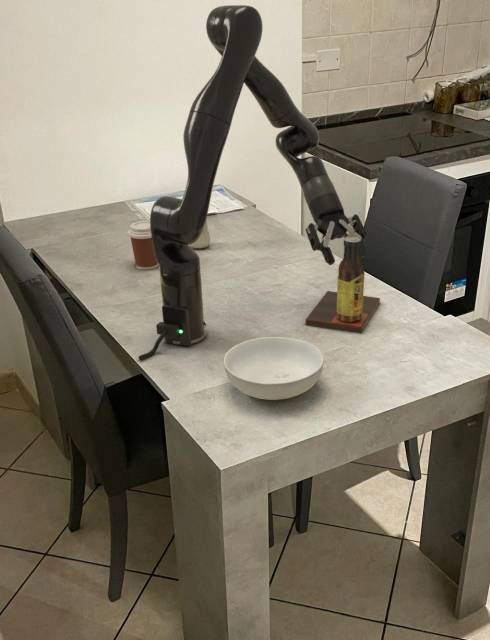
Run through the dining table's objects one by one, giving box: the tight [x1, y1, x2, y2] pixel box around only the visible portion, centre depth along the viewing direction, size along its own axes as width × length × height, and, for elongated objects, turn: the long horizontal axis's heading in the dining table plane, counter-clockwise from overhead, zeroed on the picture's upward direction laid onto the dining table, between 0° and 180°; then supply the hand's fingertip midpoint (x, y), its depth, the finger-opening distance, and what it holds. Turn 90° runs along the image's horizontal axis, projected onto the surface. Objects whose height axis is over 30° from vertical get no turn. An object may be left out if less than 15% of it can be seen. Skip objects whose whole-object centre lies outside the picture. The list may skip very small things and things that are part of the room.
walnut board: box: [305, 290, 381, 334], centre depth 200 cm, size 18×14×2 cm
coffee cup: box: [126, 220, 159, 271], centre depth 226 cm, size 9×9×12 cm
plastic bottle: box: [189, 218, 211, 249], centre depth 236 cm, size 6×7×20 cm
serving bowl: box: [223, 336, 325, 401], centre depth 168 cm, size 21×21×7 cm
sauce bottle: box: [336, 237, 365, 322], centre depth 189 cm, size 7×6×20 cm
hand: (347, 260), depth 188 cm, fingers open, 8 cm apart
